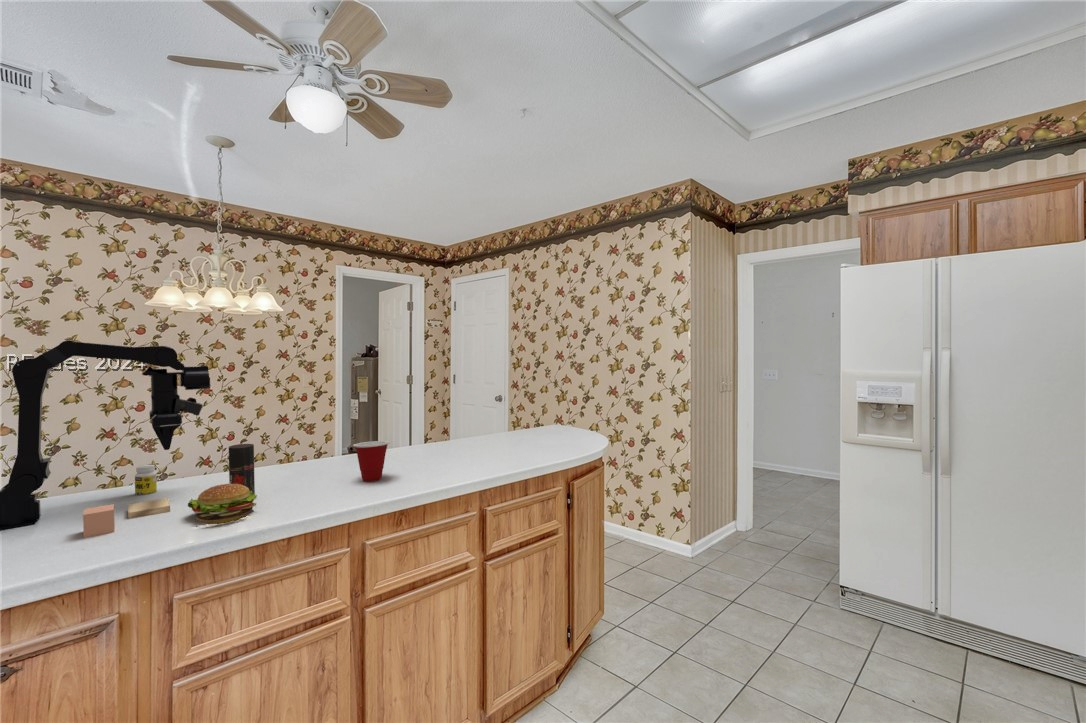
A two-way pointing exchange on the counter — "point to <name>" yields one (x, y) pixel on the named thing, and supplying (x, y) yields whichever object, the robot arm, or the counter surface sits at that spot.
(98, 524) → the block
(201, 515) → the food
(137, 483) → the supplement bottle
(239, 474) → the deodorant
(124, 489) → the counter surface
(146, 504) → the tan square slab
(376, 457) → the plastic cup
